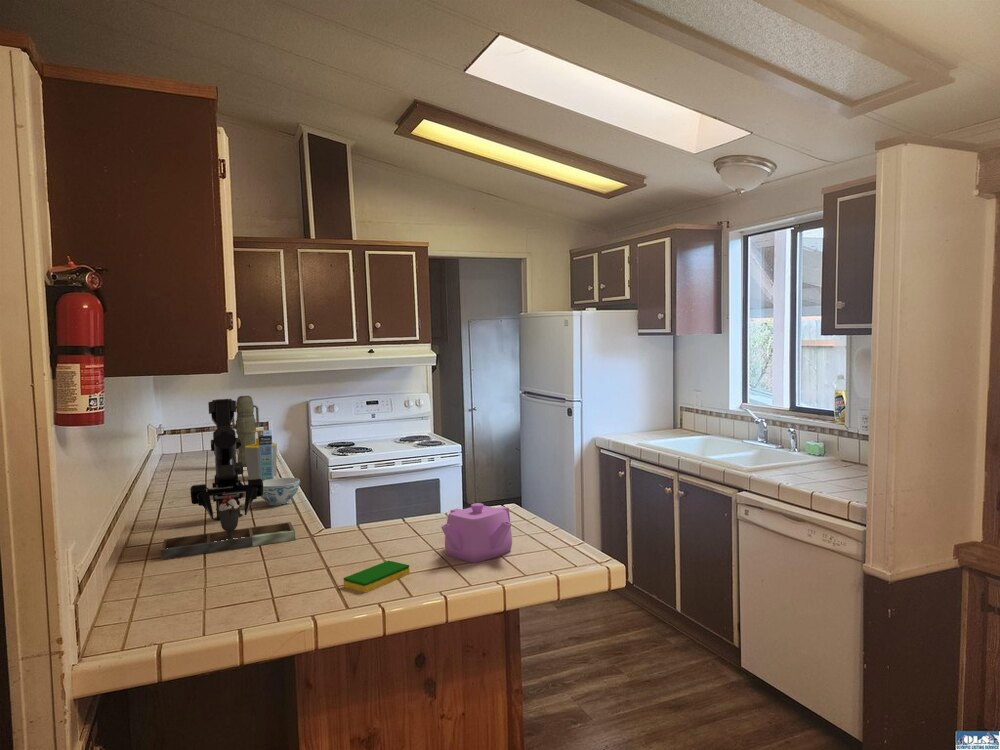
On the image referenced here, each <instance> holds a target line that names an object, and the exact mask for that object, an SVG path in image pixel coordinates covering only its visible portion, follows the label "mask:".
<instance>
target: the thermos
mask: <svg viewBox="0 0 1000 750" xmlns="http://www.w3.org/2000/svg"><path fill="white" fill-rule="evenodd" d="M254 408H255V411H254ZM254 412H255V415H254ZM259 415H260V414H259V407H258V406H257V405H255V404H254V401H253V397H252V396H250V395H239V396H238V397H237V399H236V420H235V418H234V419H233V421H232V423H231V426H232V429H235V434H237V438H238V439H239V440H240V441H241V446H240V447H239V449H237V451H238V452H237V453H238V454H237V457H236V460H237V462H243V467H247V461H246V452H245V446H247V445H252V444H256V433H257V432H254V433H252V432H253V431H256V430H257V427H259V425H260V419H259ZM255 416H256V418H255Z"/></svg>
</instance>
